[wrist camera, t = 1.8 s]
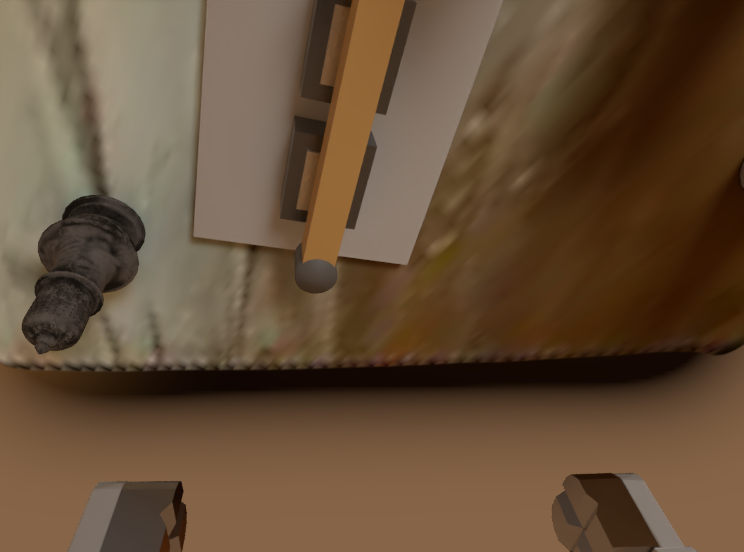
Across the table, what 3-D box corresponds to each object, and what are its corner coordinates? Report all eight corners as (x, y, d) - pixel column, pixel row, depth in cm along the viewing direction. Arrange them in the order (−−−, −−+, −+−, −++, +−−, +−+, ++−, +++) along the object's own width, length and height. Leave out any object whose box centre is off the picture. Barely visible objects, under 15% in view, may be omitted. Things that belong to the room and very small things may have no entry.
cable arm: (361, -143, 21) (369, -145, 19) (441, -116, 22) (456, -115, 20) (284, 267, 33) (283, 290, 32) (337, 273, 34) (340, 296, 32)
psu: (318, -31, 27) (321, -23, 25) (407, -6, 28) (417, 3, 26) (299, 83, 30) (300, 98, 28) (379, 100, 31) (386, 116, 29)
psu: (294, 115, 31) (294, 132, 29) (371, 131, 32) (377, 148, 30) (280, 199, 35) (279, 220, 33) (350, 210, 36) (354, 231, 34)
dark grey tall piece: (83, 174, 33) (2, 291, 23) (166, 224, 36) (123, 345, 26) (42, 232, 35) (-48, 361, 26) (123, 275, 38) (69, 404, 29)
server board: (222, -219, 23) (210, -237, 19) (534, -107, 27) (572, -105, 23) (195, 229, 36) (185, 266, 33) (404, 257, 40) (415, 293, 37)
